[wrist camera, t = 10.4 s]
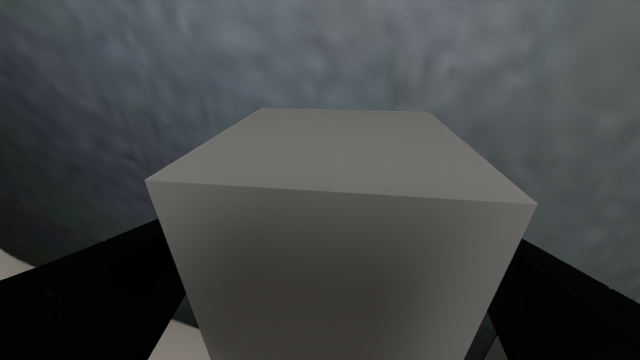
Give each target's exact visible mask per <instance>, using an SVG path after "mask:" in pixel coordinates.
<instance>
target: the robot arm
mask: <svg viewBox="0 0 640 360" xmlns="http://www.w3.org/2000/svg"><path fill="white" fill-rule="evenodd" d="M185 295H186V291H185V288H184V286H183V283H182V280H181V278H180V275H179V272H178V270H177V267H176V264H175V261H174V259H173V256H172V253H171V251H170V248H169V245H168V243H167V240H166V237H165V235H164V232H163V229H162V226H161V224H160V221H159V218H158V219H156V220H154V221H151V222H149V223H146V224H144V225H141V226H139V227H137V228H134V229H132V230H129V231H127V232H124V233H122V234H120V235H117V236H115V237H112V238H110V239H107V240H106V241H105V242H104V241H103V242H100V243H98V244H95V245H93V246H90V247H88V248H85V249H83V250H80V251H78V252H75V253H73V254H70V255H68V256H65V257H63V258H60V259H57V260H55V261H52V262H49V263H47V264H44V265H41V266H39V267H36V268H33V269H31V270H28V271H25V272H22V273H20V274H17V275H14V276H11V277H9V278H6V279H3V280H0V360H148V358H149V357H150V355H151V353H152V351H153V350H154V348H155V346H156V344H157V343H158V341H159V339H160V338H161V336H162V334H163V332H164V331H165V329H166V327H167V326H168V324H169V322H170V320H171V319H172V317H173V315H174V314H175V312H176V310H177V308H178V307H179V305H180V303H181V301H182V300H183V298H184V296H185ZM487 312H488V315H489V317H490V319H491V322H492V324H493V326H494V329H495V331H496V333H497V336H498V338H499V340H500V343H501V345H502V347H503V350H504V352H505V355H506V357H507V359H508V360H640V304H639V303H637V302H635V301H633V300H632V299H630V298H628V297H626V296H624V295H623V294H621V293H619V292H617V291H615V290H614V289H610V288H609V287H608V286H606V285H605V284H603V283H601V282H599V281H597V280H596V279H594V278H592V277H590V276H588V275H587V274H585V273H583V272H581V271H579V270H578V269H576V268H574V267H572V266H571V265H569V264H567V263H565V262H563V261H562V260H560V259H558V258H556V257H554V256H553V255H551V254H549V253H547V252H545V251H544V250H542V249H540V248H538V247H536V246H535V245H533V244H531V243H529V242H527V241H526V240H524V239H521V241H520V243H519V245H518V247H517V249H516V251H515V253H514V255H513V257H512V259H511V261H510V264H509V266H508V268H507V270H506V272H505V274H504V276H503V278H502V280H501V282H500V284H499V287H498V289H497V291H496V293H495V295H494V297H493V299H492V301H491V303H490V305H489V307H488V310H487Z"/></svg>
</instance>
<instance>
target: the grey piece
mask: <svg viewBox="0 0 640 360" xmlns="http://www.w3.org/2000/svg"><path fill="white" fill-rule="evenodd" d="M144 181H145V183H146V186H147V189H148V191H149V194H150V197H151V200H152V202H153V205H154V208H155V210H156V213H157V216H158V218H159V221H160V224H161V226H162V229H163V232H164V235H165V237H166V240H167V243H168V245H169V248H170V251H171V253H172V256H173V259H174V261H175V264H176V267H177V270H178V272H179V275H180V278H181V280H182V283H183V286H184V288H185V291H186V294H187V296H188V299H189V302H190V305H191V307H192V310H193V313H194V315H195V318H196V321H197V323H198V326H199V329H200V332H201V334H202V337H203V340H204V342H205V345H206V348H207V350H208V353H209V356H210V358H211V360H464V358H465V356H466V353H467V351H468V349H469V347H470V345H471V343H472V341H473V339H474V337H475V335H476V333H477V330H478V328H479V326H480V324H481V322H482V320H483V318H484V316H485V314H486V312H487V310H488V307H489V305H490V303H491V301H492V299H493V297H494V295H495V293H496V291H497V289H498V287H499V284H500V282H501V280H502V278H503V276H504V274H505V272H506V270H507V268H508V266H509V264H510V261H511V259H512V257H513V255H514V253H515V251H516V249H517V247H518V245H519V243H520V241H521V239H522V236H523V234H524V232H525V230H526V228H527V226H528V224H529V222H530V220H531V218H532V216H533V213H534V211H535V209H536V207H537V205H538V204H537V203H536V202H535V201H533V200H532V199H531V198H530V197H529V196H527V195H526V194H525V193H524V192H523V191H522V190H520V189H519V188H518V187H517V186H516V185H514V184H513V183H512V182H511V181H510V180H509V179H507V178H506V177H505V176H504V175H503V174H501V173H500V172H499V171H498V170H497V169H496V168H494V167H493V166H492V165H491V164H490V163H488V162H487V161H486V160H485V159H484V158H483V157H481V156H480V155H479V154H478V153H477V152H476V151H474V150H473V149H472V148H471V147H470V146H468V145H467V144H466V143H465V142H464V141H463V140H461V139H460V138H459V137H458V136H457V135H455V134H454V133H453V132H452V131H451V130H450V129H448V128H447V127H446V126H445V125H444V124H442V123H441V122H440V121H439V120H438V119H437V118H435V117H434V116H433V115H432V114H431V113H429V112H422V111H381V110H339V109H298V108H260V109H259V110H257V111H256V112H254V113H252V114H251V115H249V116H247V117H246V118H244V119H243V120H241V121H239V122H238V123H236V124H235V125H233V126H231V127H230V128H228V129H226V130H225V131H223V132H222V133H220V134H218V135H217V136H215V137H213V138H212V139H210V140H209V141H207V142H205V143H204V144H202V145H201V146H199V147H197V148H196V149H194V150H192V151H191V152H189V153H188V154H186V155H184V156H183V157H181V158H180V159H178V160H176V161H175V162H173V163H171V164H170V165H168V166H167V167H165V168H163V169H162V170H160V171H158V172H157V173H155V174H154V175H152V176H150V177H149V178H147V179H146V180H144Z"/></svg>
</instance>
